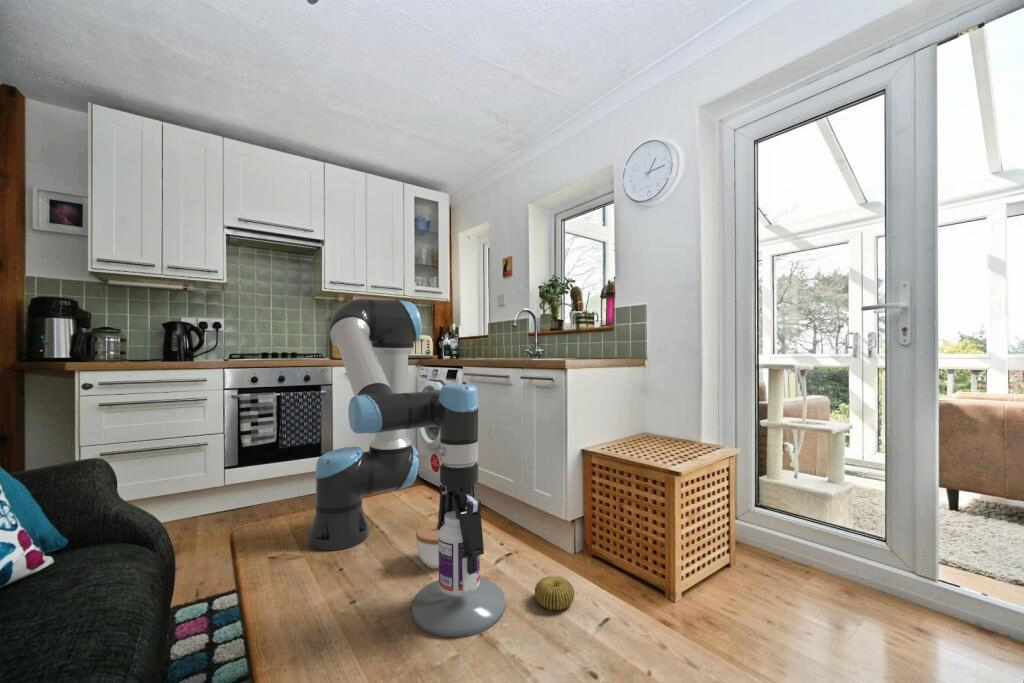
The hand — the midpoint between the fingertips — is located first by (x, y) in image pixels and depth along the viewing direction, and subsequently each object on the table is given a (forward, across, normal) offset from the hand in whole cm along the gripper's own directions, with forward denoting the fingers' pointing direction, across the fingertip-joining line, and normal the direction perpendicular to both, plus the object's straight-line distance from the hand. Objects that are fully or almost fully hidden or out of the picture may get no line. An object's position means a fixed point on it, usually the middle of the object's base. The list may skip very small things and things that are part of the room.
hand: (459, 578), depth 86 cm
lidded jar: (+6, -19, +4) cm, 20 cm away
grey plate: (+6, 0, 0) cm, 6 cm away
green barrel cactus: (+6, +9, +17) cm, 20 cm away
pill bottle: (+2, 0, 0) cm, 2 cm away
